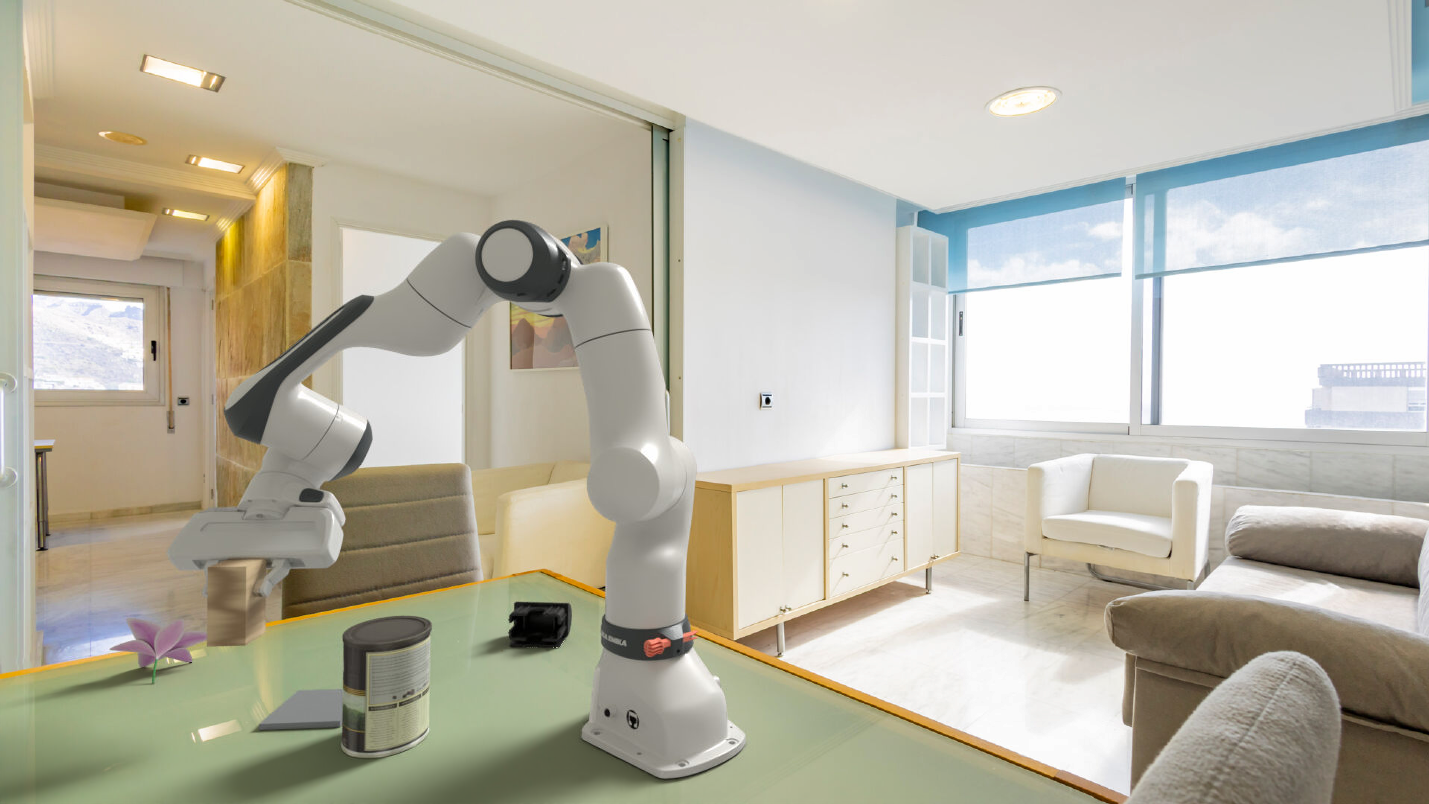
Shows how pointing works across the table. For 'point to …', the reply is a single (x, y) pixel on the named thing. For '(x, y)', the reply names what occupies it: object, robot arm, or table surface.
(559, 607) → the end cap
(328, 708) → the slate coaster
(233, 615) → the oak block
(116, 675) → the table surface
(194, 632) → the lily
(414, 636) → the coffee can
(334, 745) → the table surface
